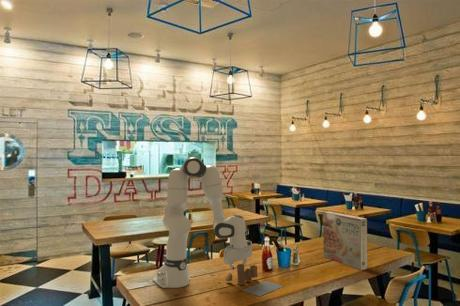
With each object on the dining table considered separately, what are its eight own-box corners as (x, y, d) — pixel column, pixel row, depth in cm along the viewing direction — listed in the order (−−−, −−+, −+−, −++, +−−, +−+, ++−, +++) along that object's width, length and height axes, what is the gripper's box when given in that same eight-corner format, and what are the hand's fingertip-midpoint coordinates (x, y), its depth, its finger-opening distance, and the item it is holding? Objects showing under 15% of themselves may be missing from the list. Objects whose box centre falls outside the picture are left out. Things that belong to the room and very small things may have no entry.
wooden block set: (253, 278, 208) (252, 259, 209) (261, 281, 200) (260, 262, 201) (225, 283, 201) (224, 264, 201) (231, 287, 193) (230, 267, 193)
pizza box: (323, 259, 245) (323, 212, 246) (329, 258, 248) (329, 211, 248) (360, 272, 217) (360, 219, 217) (367, 271, 220) (366, 218, 220)
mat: (242, 290, 188) (242, 290, 188) (266, 281, 203) (266, 280, 203) (259, 296, 180) (259, 296, 180) (283, 286, 194) (283, 286, 194)
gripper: (228, 247, 195) (228, 273, 195) (253, 241, 210) (253, 265, 210) (220, 245, 200) (220, 271, 200) (245, 239, 214) (245, 263, 214)
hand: (238, 268), depth 205 cm, fingers open, 8 cm apart
